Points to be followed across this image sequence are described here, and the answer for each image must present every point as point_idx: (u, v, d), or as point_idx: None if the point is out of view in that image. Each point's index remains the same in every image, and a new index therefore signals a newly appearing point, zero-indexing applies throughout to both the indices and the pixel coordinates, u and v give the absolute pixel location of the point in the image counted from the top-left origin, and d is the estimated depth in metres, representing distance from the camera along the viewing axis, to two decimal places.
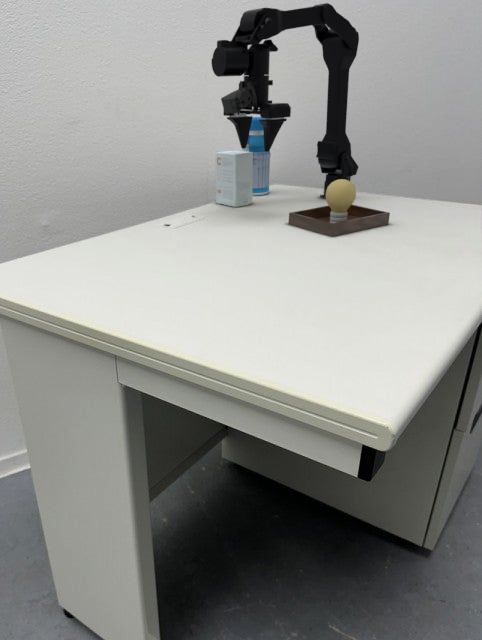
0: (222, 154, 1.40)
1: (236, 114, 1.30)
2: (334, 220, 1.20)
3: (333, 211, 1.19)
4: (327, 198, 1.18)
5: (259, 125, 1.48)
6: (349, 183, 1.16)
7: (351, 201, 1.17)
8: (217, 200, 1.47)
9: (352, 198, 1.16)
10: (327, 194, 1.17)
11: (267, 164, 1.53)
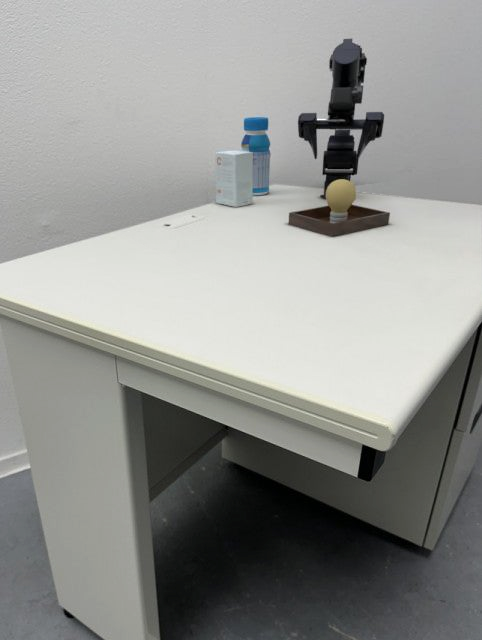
0: (222, 154, 1.40)
1: None
2: (334, 220, 1.20)
3: (333, 211, 1.19)
4: (327, 198, 1.18)
5: (259, 125, 1.48)
6: (349, 183, 1.16)
7: (351, 201, 1.17)
8: (217, 200, 1.47)
9: (352, 198, 1.16)
10: (327, 194, 1.17)
11: (267, 164, 1.53)
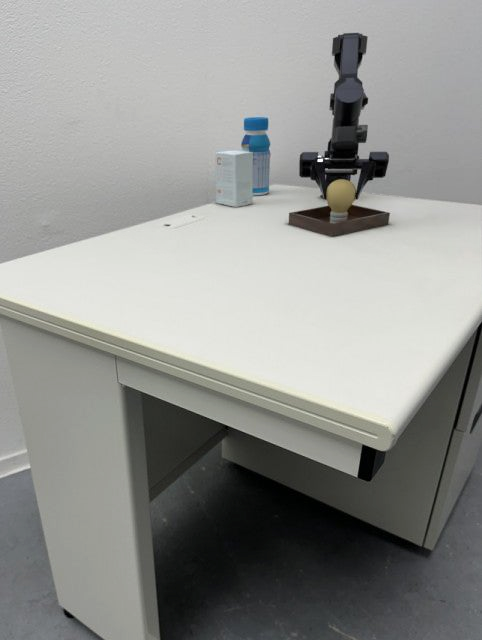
0: (222, 154, 1.40)
1: None
2: (334, 220, 1.20)
3: (333, 211, 1.19)
4: (327, 198, 1.18)
5: (259, 125, 1.48)
6: (349, 183, 1.16)
7: (351, 201, 1.17)
8: (217, 200, 1.47)
9: (352, 198, 1.16)
10: (327, 194, 1.17)
11: (267, 164, 1.53)
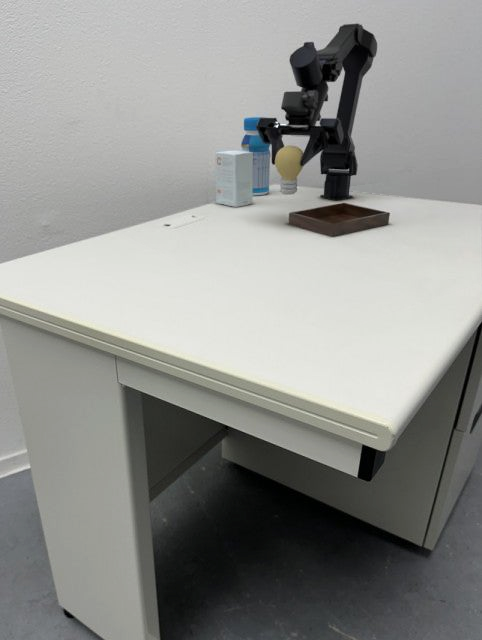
0: (222, 154, 1.40)
1: (278, 129, 1.20)
2: (282, 187, 1.20)
3: None
4: (275, 164, 1.19)
5: None
6: (295, 149, 1.16)
7: (296, 168, 1.17)
8: (217, 200, 1.47)
9: (297, 164, 1.16)
10: (275, 160, 1.19)
11: (267, 164, 1.53)
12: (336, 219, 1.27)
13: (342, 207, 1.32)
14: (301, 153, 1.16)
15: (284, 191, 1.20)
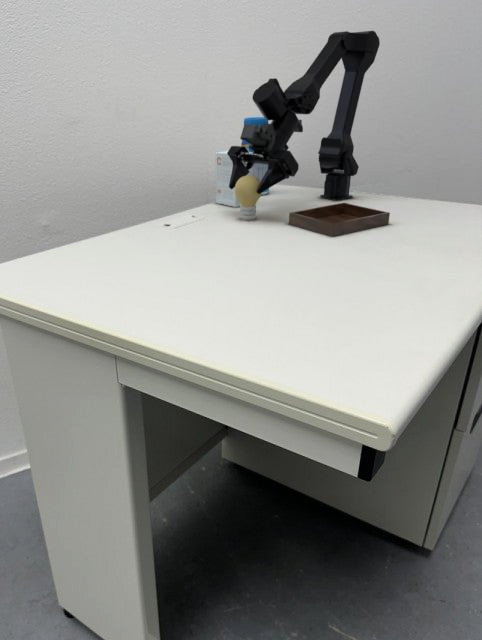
0: (222, 154, 1.40)
1: (240, 156, 1.30)
2: (240, 212, 1.30)
3: (241, 204, 1.30)
4: None
5: (259, 125, 1.48)
6: (249, 179, 1.25)
7: (249, 196, 1.26)
8: (217, 200, 1.47)
9: (250, 193, 1.25)
10: None
11: None
12: (336, 219, 1.27)
13: (342, 207, 1.32)
14: (255, 183, 1.25)
15: (242, 217, 1.30)
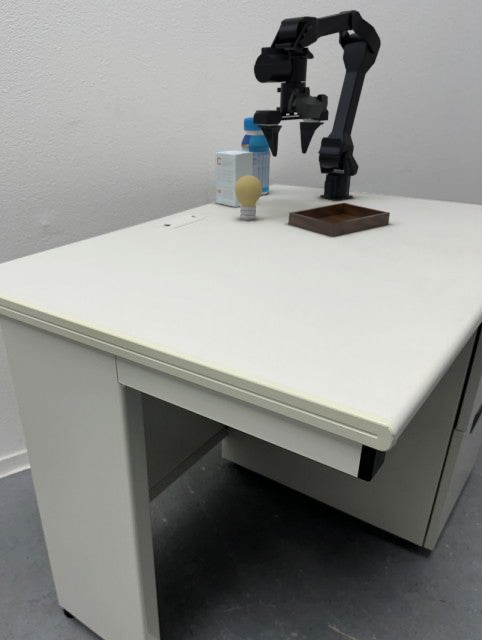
0: (222, 154, 1.40)
1: None
2: (240, 212, 1.30)
3: (241, 204, 1.30)
4: None
5: None
6: (249, 179, 1.25)
7: (249, 196, 1.26)
8: (217, 200, 1.47)
9: (250, 193, 1.25)
10: None
11: (267, 164, 1.53)
12: (336, 219, 1.27)
13: (342, 207, 1.32)
14: (255, 183, 1.25)
15: (242, 217, 1.30)
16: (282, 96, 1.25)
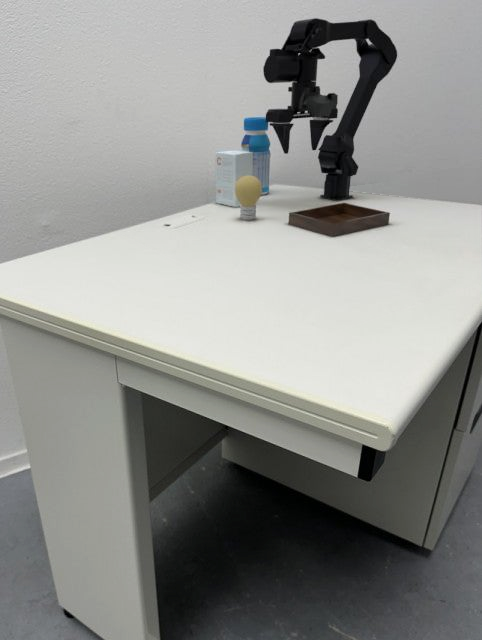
0: (222, 154, 1.40)
1: None
2: (240, 212, 1.30)
3: (241, 204, 1.30)
4: None
5: (259, 125, 1.48)
6: (249, 179, 1.25)
7: (249, 196, 1.26)
8: (217, 200, 1.47)
9: (250, 193, 1.25)
10: None
11: (267, 164, 1.53)
12: (336, 219, 1.27)
13: (342, 207, 1.32)
14: (255, 183, 1.25)
15: (242, 217, 1.30)
16: (293, 95, 1.30)
